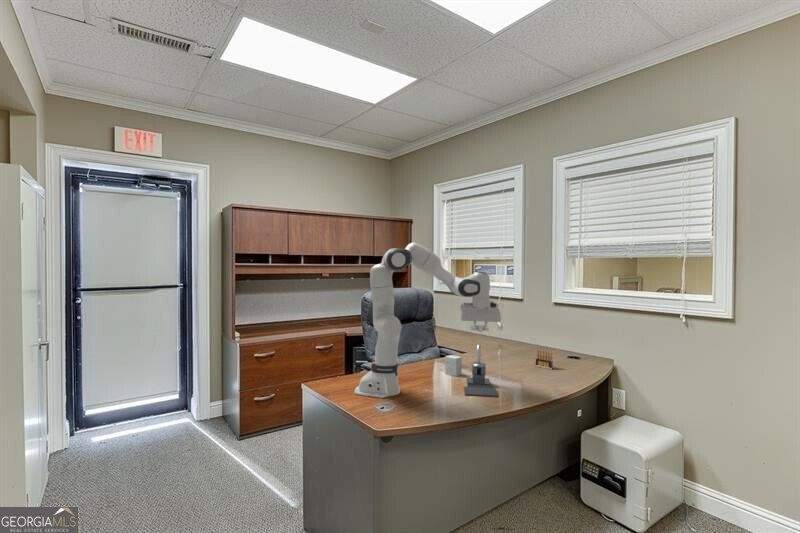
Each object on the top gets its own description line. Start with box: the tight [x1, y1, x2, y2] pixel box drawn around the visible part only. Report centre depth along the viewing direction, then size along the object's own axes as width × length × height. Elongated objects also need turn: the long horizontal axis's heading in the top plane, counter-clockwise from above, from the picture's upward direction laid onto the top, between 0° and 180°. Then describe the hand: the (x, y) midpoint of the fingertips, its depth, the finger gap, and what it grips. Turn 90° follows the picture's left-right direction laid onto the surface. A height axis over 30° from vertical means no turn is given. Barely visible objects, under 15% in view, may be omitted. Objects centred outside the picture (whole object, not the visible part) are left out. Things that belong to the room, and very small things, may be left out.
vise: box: [466, 344, 492, 388], centre depth 216 cm, size 12×10×21 cm
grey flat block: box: [469, 324, 490, 333], centre depth 214 cm, size 9×14×3 cm, turn 173°
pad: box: [463, 386, 499, 398], centre depth 202 cm, size 16×12×1 cm
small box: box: [444, 354, 463, 378], centre depth 234 cm, size 8×6×10 cm
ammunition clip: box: [535, 347, 554, 368], centre depth 254 cm, size 11×2×12 cm, turn 44°
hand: (480, 329), depth 209 cm, fingers closed on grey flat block, 2 cm apart
